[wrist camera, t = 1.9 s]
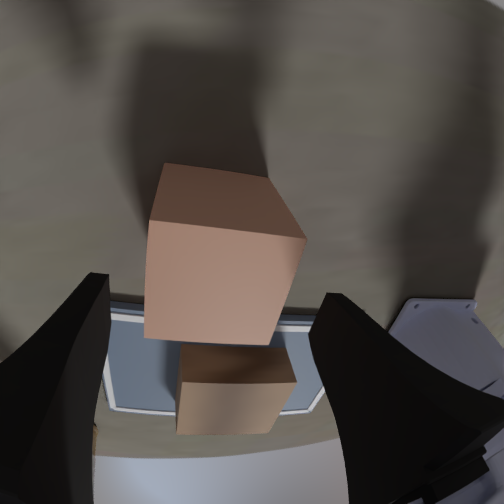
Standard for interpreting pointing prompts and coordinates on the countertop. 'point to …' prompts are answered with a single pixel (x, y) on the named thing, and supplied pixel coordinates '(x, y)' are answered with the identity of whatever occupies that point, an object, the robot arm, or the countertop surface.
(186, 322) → the terracotta block
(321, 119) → the countertop surface
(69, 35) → the countertop surface
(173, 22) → the countertop surface
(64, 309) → the robot arm
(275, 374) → the walnut base block
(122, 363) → the board
